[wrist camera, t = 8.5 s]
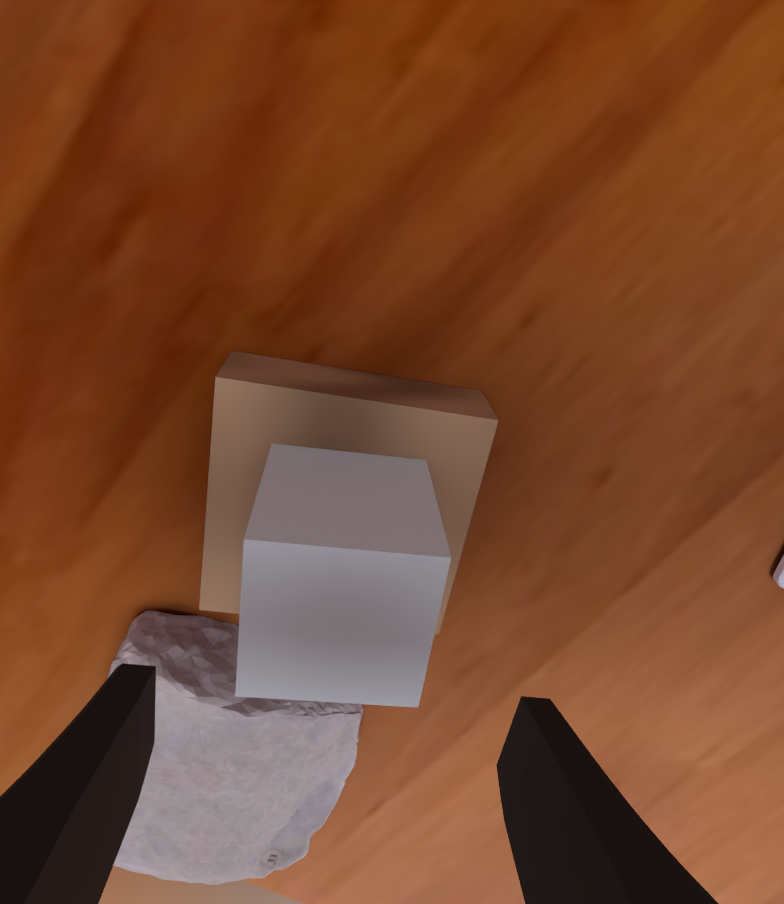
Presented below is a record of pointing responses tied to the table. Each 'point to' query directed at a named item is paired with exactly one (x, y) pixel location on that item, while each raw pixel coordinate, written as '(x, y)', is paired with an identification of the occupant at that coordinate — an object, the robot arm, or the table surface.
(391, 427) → the tan square block
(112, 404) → the table surface
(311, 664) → the light grey block
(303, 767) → the stone block
